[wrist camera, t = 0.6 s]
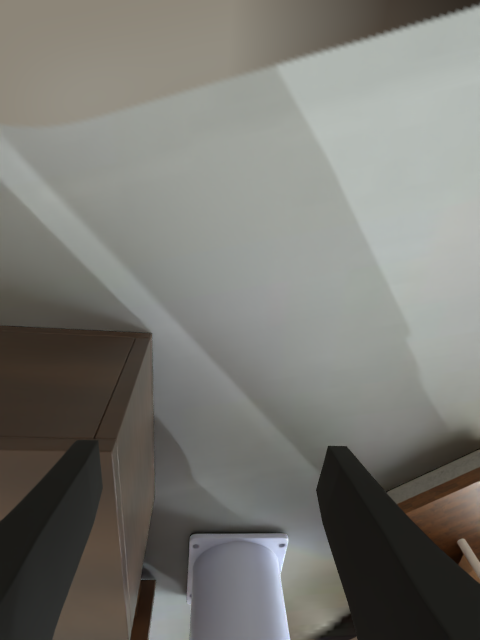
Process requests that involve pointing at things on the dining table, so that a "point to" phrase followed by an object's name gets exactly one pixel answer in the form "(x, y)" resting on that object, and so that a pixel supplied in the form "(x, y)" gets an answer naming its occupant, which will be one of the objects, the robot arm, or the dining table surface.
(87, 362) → the cabinet
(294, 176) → the dining table surface
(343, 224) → the dining table surface
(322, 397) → the dining table surface
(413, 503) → the display case
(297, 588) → the dining table surface
